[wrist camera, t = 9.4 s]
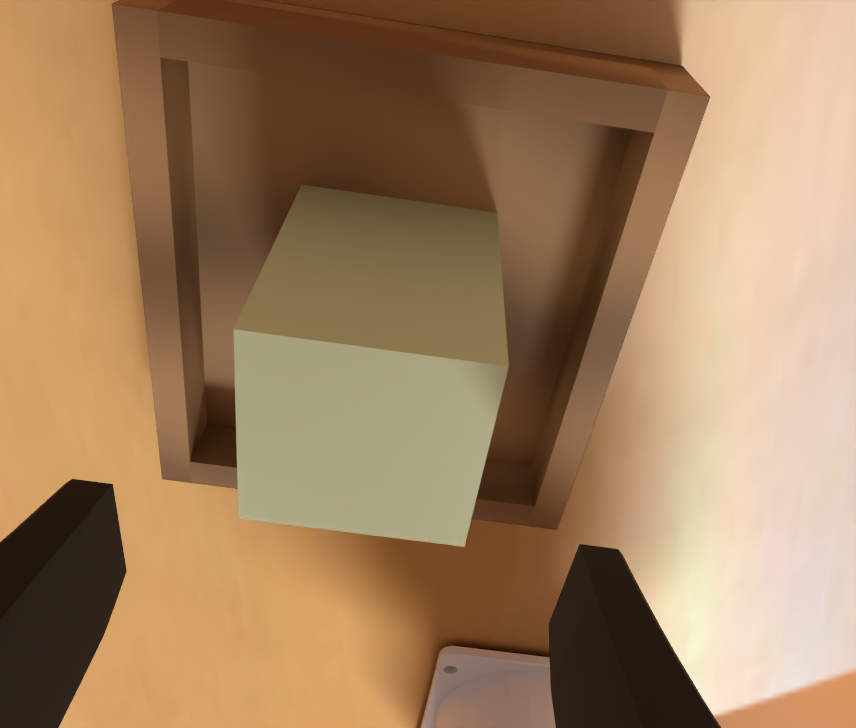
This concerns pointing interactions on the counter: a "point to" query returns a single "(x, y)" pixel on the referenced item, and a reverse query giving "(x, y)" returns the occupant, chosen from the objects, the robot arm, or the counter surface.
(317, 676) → the counter surface
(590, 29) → the counter surface
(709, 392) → the counter surface
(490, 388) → the sage block
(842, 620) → the counter surface
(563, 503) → the walnut tray
